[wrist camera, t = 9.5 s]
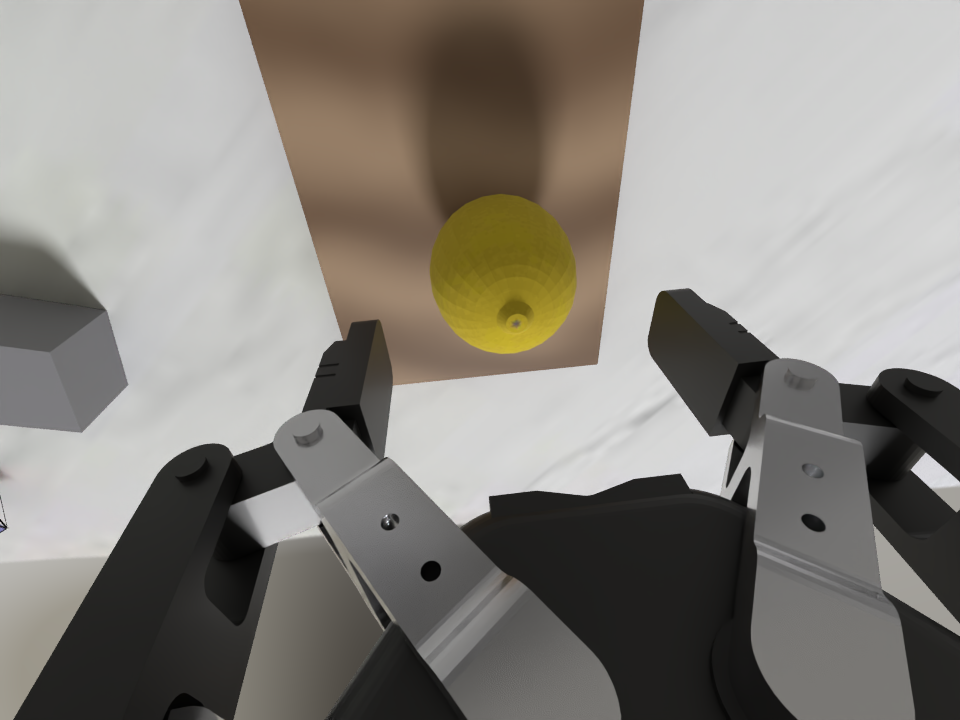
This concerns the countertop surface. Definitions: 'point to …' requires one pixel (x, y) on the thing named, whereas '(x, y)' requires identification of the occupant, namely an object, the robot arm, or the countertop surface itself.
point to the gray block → (56, 364)
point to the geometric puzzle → (0, 527)
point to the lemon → (503, 274)
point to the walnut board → (449, 149)
